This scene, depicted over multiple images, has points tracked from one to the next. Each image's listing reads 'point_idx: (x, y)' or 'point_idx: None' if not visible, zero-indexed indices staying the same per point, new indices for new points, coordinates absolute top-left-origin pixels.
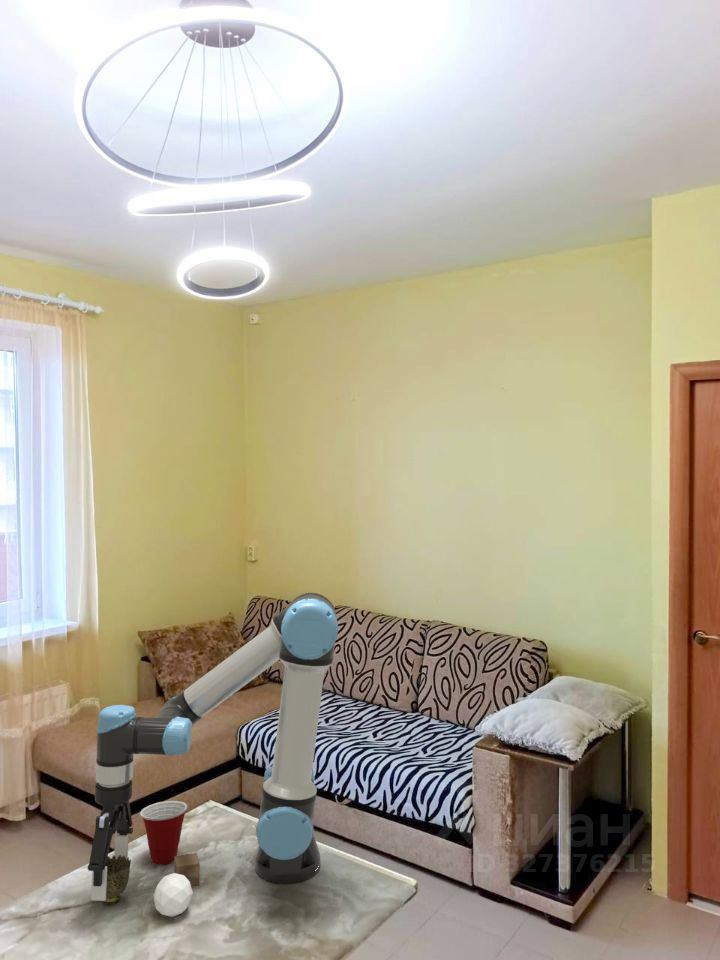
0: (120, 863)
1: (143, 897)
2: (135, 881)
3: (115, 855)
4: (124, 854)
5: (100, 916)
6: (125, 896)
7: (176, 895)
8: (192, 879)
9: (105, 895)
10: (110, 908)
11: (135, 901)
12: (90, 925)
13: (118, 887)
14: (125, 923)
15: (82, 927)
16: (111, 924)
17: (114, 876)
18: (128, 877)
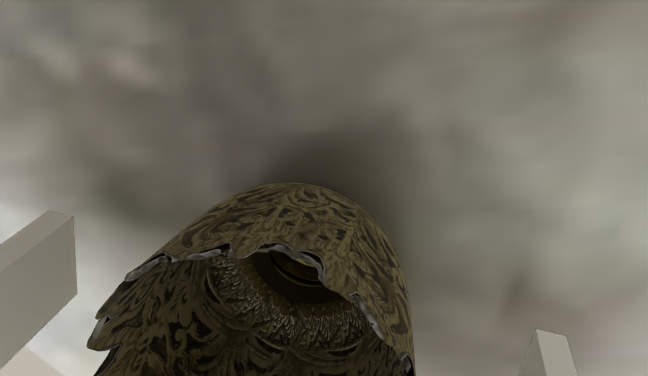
0: (139, 297)
1: (297, 32)
2: (101, 107)
3: (26, 337)
4: (13, 281)
5: (476, 273)
6: (272, 152)
7: None
8: None
9: (555, 355)
10: (398, 227)
11: (341, 83)
12: (560, 317)
13: (392, 256)
14: (613, 124)
15: None
16: (592, 209)
17: (410, 355)
18: (285, 201)
